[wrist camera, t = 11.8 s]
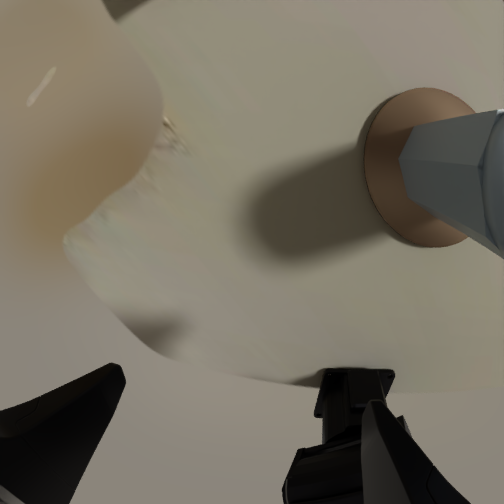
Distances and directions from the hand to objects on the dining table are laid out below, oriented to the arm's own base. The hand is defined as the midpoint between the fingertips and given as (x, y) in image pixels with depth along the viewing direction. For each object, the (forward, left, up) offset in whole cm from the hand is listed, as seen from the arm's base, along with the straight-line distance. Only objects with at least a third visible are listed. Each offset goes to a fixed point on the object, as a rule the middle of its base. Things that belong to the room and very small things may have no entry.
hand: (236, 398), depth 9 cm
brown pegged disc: (+8, -11, -12) cm, 18 cm away
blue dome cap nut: (+8, -11, -12) cm, 18 cm away
